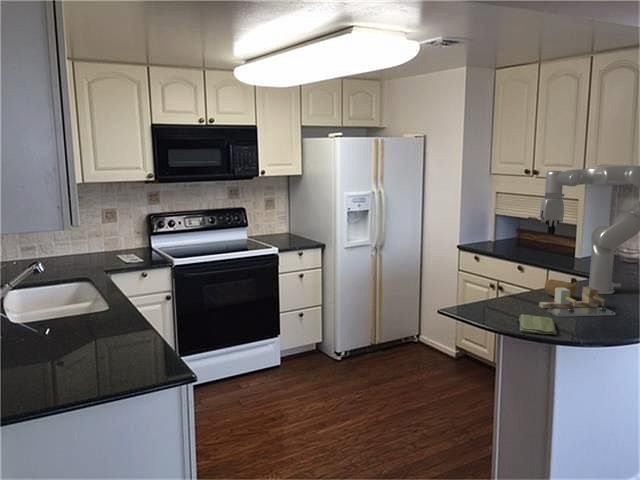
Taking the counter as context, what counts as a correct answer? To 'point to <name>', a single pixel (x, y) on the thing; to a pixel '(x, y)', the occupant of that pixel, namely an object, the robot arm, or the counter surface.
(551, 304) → the rail
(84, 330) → the counter surface
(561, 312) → the bolt plate
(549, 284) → the potato
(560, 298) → the block
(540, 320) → the washcloth
